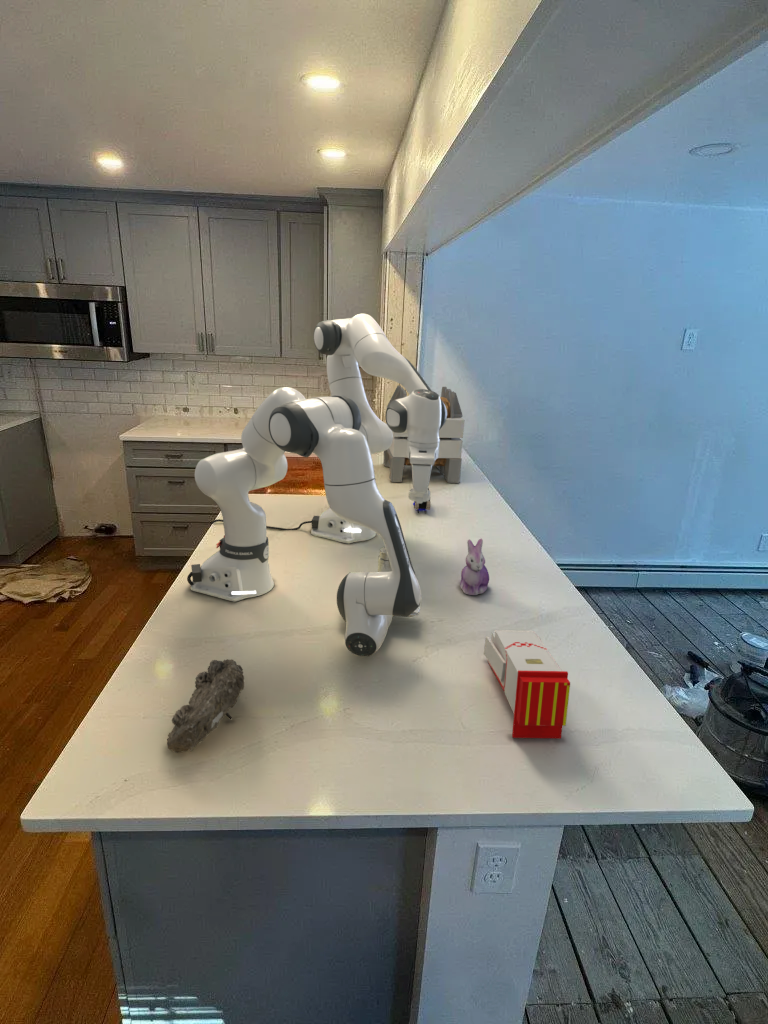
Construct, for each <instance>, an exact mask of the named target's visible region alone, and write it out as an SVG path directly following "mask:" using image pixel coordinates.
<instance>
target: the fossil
mask: <svg viewBox="0 0 768 1024" xmlns="http://www.w3.org/2000/svg"><path fill="white" fill-rule="evenodd" d="M243 670H244V669H243V667H242V665H240V664H237V662H236V661H235V660H234V659H232V658H231V659H227V658H226V659H224V660H223V661H222V660H217V659H212V660H211V661H210V663H209V665H208V666H207V671H201V672H199V673H198V674H197V675H196V676H195V680H194V684H195V685H194V687H195V689H194V690H193V693H192V694H191V697H190V698H189V700H188V704H184V705H182V706H181V707H180V709H177V710H176V711H175V713H174V715H173V716H172V718H171V723H172V724H173V727H172V730H171V731H170V732H168V734H167V738H166V741H167V742H166V745H167V749H168V750H169V751H173V752H174V753H176V754H178V753H182V752H188V751H189V752H192V751H193V750H195V748H196V747H197V746H199V744H200V743H201V742H203V741H204V740H205V739H206V738H207V737H208V736H209V735H210V734H211V733H212V732H214V730H215V729H217V727H218V726H219V724H220V722H221V721H222V720H223V719H224V718H225V716H226V717H227V719H229V720H233V717H232V715H230V714H229V710H230V709H231V708H234V706H235V704H236V703H237V702H238V699H239V697H240V695H241V693H242V691H243V690H245V689H244V688H245V675H244V671H243Z"/></svg>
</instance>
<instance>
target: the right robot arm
mask: <svg viewBox="0 0 768 1024" xmlns="http://www.w3.org/2000/svg"><path fill="white" fill-rule="evenodd" d="M313 343H314V346H315V348H316V350H317V351H318V353H320V354H322V355H325V356H327V357H326V359H325V360H326V361H325V362H326V363H325V365H326V376H327V377H326V378H327V382H328V388H329V392H330V396H334V395H336V396H344V397H347V398H350V399H351V400H353V401H354V402H355V403H356V405H357V406H358V408H359V410H360V414H361V426H360V429H359V431H360V432H361V433H363V435H364V436H365V437H366V439H367V443H368V446H369V449H370V453H371V456H373V455H378V454H380V453H384V451H385V450H387V449H389V448H390V446H391V444H392V441H393V434H392V431H393V432H395V433H407V434H408V438H407V452H406V456H407V457H408V458H409V460H410V463H411V465H412V466H411V475H412V488H413V490H414V492H416V503H423V495H424V493H426V492H427V490H428V488H429V486H430V479H431V474H432V469H433V466H432V465H434V463H435V460H436V459H438V456H439V442H440V439H439V430H440V429H441V428H442V426H443V425H444V423H445V421H446V418H447V409H446V406H445V404H444V403H443V401H442V400H441V399H440V397H441V395H439V393H437V392H436V391H433V390H432V389H431V388H430V387H429V385H428V383H427V382H426V380H425V379H424V378H423V376H422V375H421V374H420V373H419V371H418V370H417V369H416V367H415V366H414V365H413V363H412V362H411V361H410V360H409V359H408V358H406V357H405V356H404V355H403V354H401V353H400V352H399V351H398V350H397V349H396V348H395V347H394V346H393V344H392V343H391V341H390V340H389V338H388V337H387V335H386V334H385V332H384V330H383V329H382V326H380V324H379V323H378V322H377V321H376V320H375V318H374V317H373V316H372V315H370V314H367V313H358V314H355V315H353V316H352V317H346V318H337V319H332V320H331V319H326V320H322V321H320V322H318V323H317V324H316V325H315V327H314V329H313ZM360 368H361V369H362V370H363V371H364V372H365V373H366V374H368V375H370V376H373V377H376V378H377V377H378V378H381V379H387V380H389V381H393V382H396V383H398V385H400V386H401V387H402V388H403V389H404V390H406V393H407V394H408V395H407V397H404V398H401V399H397V400H393V401H391V402H390V404H389V405H388V404H387V405H388V407H387V406H386V410H385V422H384V421H382V420H381V418H379V417H378V416H377V415H376V413H375V412H374V410H373V409H372V407H371V405H370V404H369V400H368V398H367V394H366V391H365V387H364V382H363V379H362V373H361V371H360ZM391 430H392V431H391ZM217 522H218V523H219V522H221V523H223V519H214V520H212V521H211V522H210V525H213V524H214V523H217ZM306 524H311V530H310V533H311V536H315V537H319V538H323V539H326V540H330V541H336V542H339V543H343V544H352V543H357V542H365V541H368V540H372V539H373V538H375V537H376V535H377V533H376V532H374V531H372V530H370V529H368V528H366V527H363V526H360V525H357V524H354V523H351V522H348V521H346V520H344V519H342V518H340V517H339V516H337V515H336V514H335V513H334V512H333V511H332V510H331V508H330V507H329V506H328V508H326V509H325V510H323V512H321V514H320V515H313V517H312V519H311V520H306V521H302V522H301V523H300V524H299V525H298V526H297V527H294V528H286V527H285V528H284V527H278V526H270V525H266V529H270V530H278V531H297V530H300V529H301V528H302V526H303V525H306Z"/></svg>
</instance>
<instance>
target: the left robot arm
mask: <svg viewBox="0 0 768 1024" xmlns="http://www.w3.org/2000/svg"><path fill="white" fill-rule="evenodd" d="M360 426H361V414H360V410H359V408H358V406H357V405H356V403H355V402H354V401H353V400H351V399H350V398H347V397H344V396H336V395H334V396H331V395H330V396H329V395H328V396H313V397H310V398H306V397H305V396H304V394H303V393H302V392H300V391H299V390H298V389H296V388H293V387H290V386H281V387H279V388H276V389H275V390H274V391H272V392H271V393H269V395H268V396H267V397H266V398H265V399H264V400H263V401H262V402H261V403H260V405H259V406H258V407H257V409H256V410H255V411H254V413H253V415H252V416H251V418H250V419H249V420H248V421H247V423H246V425H245V427H244V428H243V430H242V432H241V437H240V440H241V445H242V448H239V449H234V450H228V451H223V452H217V453H214V454H212V455H209V456H207V457H205V458H202V459H201V460H199V461H198V462H197V464H196V466H195V469H194V480H195V484H196V487H197V488H198V490H199V491H200V492H201V493H202V494H203V495H205V496H207V497H208V498H210V499H212V500H213V501H214V502H215V503H216V505H217V506H218V508H219V510H220V512H221V516H222V520H223V522H222V523H223V531H224V535H223V537H222V538H221V539H219V542H217V543H216V544H215V546H216V547H215V548H216V549H218V548H219V550H218V551H216V552H215V553H214V554H212V555H210V556H209V557H207V558H206V559H205V560H204V561H203V563H202V564H200V563H198V564H197V563H195V564H191V565H190V566H191V571H190V572H189V573H188V575H187V577H186V581H187V583H188V584H189V585H190V590H191V591H193V592H195V593H196V592H197V593H200V594H204V595H208V596H211V597H214V598H219V599H221V600H222V599H223V600H226V601H229V602H240V601H242V600H244V599H250V598H255V597H259V596H262V595H265V594H266V593H269V592H270V591H271V590H273V588H274V586H275V582H274V579H273V576H272V572H271V568H270V562H269V557H270V546H269V543H270V542H269V537H268V535H267V528H266V526H267V513H266V512H265V510H264V509H263V507H262V506H261V505H259V504H257V503H255V502H253V501H251V500H250V497H249V492H250V491H254V490H259V489H263V488H266V487H270V486H272V485H275V484H276V483H278V482H280V481H282V480H284V478H285V477H286V475H287V473H288V468H289V466H288V465H289V464H288V459H287V457H286V454H285V453H290V454H296V455H299V456H301V457H303V458H309V457H311V455H312V454H314V455H315V456H316V457H317V458H318V459H319V461H320V464H321V469H322V478H323V485H324V493H325V498H326V502H327V505H328V508H329V507H330V508H331V510H332V511H333V512H334V513H335V514H336V515H337V516H339V517H340V518H342V519H344V520H346V521H348V522H351V523H354V524H357V525H360V526H363V527H366V528H368V529H370V530H372V531H374V532H376V535H378V536H379V537H380V538H381V539H382V541H383V544H384V547H386V551H387V554H388V558H389V561H390V564H391V568H392V571H391V572H378V571H356V572H348V573H347V574H346V575H345V576H343V578H342V580H341V581H340V583H339V584H338V588H337V591H336V607H337V610H338V613H339V615H340V616H341V618H342V619H343V621H344V623H345V633H344V645H345V648H346V649H347V650H348V652H350V653H351V654H353V655H355V656H358V657H370V656H372V655H374V654H376V653H377V652H378V651H379V650H380V648H381V647H382V645H383V644H384V641H385V639H386V636H387V634H388V629H389V627H390V625H391V623H392V621H393V618H394V617H404V618H412V617H415V616H418V615H419V614H420V611H421V607H422V600H423V595H422V590H421V586H420V583H419V580H418V577H417V575H416V572H415V569H414V567H413V566H414V565H413V563H412V560H411V557H410V552H409V550H408V546H407V542H406V539H405V535H404V533H403V532H404V531H403V528H402V526H401V522H400V520H399V516H398V514H397V511H396V508H395V507H394V504H393V503H392V502H391V501H389V500H387V499H385V498H384V496H383V495H382V493H381V491H380V490H379V488H378V485H377V482H376V475H375V474H376V473H375V468H374V467H375V466H374V462H373V456H372V455H371V453H370V449H369V446H368V443H367V439H366V437H365V436H364V435H363V433H361V432H360V431H359V429H360Z"/></svg>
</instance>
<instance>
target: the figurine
mask: <svg viewBox="0 0 768 1024" xmlns="http://www.w3.org/2000/svg"><path fill="white" fill-rule="evenodd" d="M483 544H484V539H483V538H480V539H478V541H477V542H476V544H474V543H473V541H472V540H471V539H467V555H466V557H465V566H463V568H462V570H461V573H460V583H459V588H460V589H461V590H462V593H463V594H465V595H470V596H477V595H479V594H480V595H481V594H484V593H485V592H486V591H487V590H488V586H489V583H490V574H489V571H488V568H487V566H486V565H485V564H486V559H485V555H484V553H483V550H482V549H483Z"/></svg>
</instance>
